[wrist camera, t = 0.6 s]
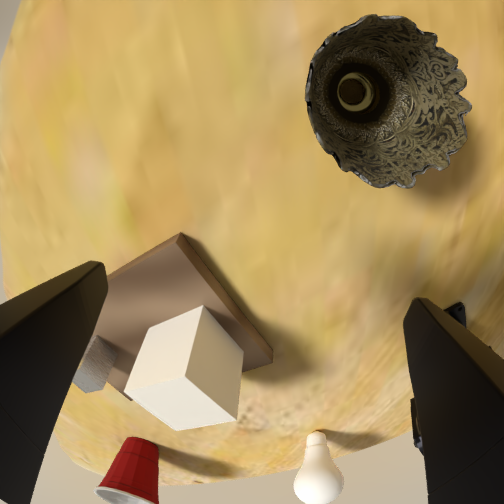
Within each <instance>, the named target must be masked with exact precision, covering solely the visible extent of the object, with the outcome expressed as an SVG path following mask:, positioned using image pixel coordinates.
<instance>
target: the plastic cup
mask: <svg viewBox="0 0 504 504" xmlns="http://www.w3.org/2000/svg"><path fill="white" fill-rule="evenodd" d="M158 460H159V452H158V447H157V446H156V445H155V444H153V443H151V442H149V441H147V440H144V439H141V438H136V437H128V438H127V439H126V440H125V442H124V443H123V445H122V447H121V449H120V451H119V453H118V454H117V455H116V457H115V459H114V461H113V463H112V465H111V467H110V468H109V470H108V472H107V474H106V476H105V477H104V479H103V480H102V482H101V483H100V485H99V486H98V487H96V488H95V489H94V492H95V493H96V495H97V496H99V497H100V498H102V499H103V500H105V501H107V502H109V503H111V504H159V501H158V474H159V467H158Z"/></svg>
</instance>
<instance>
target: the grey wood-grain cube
mask: <svg viewBox="0 0 504 504" xmlns="http://www.w3.org/2000/svg"><path fill="white" fill-rule="evenodd" d="M117 356H118V354H117V353H116V352H115V351H114V350H113V349H111V348H110V347H109V346H108V345H107V344H106V343H105V342H104V341H103V340H102V339H101V338H100V337H99V336H98V335H95V336H93V337H91V340H90V342H89V344H88V346H87V349H86V351H85V353H84V355H83V357H82V360H81V362H80V364H79V366H78V369H77V371H76V373H75V376H74V378H73V380H72V382H73V383H74V384H75V385H76V386H78V387H79V388H80V389H81V390H82V391H84V392H85V393H89V392H94V391H98V390H102V389H103V388H104V385H105V383H106V381H107V378H108V376H109V374H110V371H111V369H112V367H113V365H114V362H115V360H116V358H117Z"/></svg>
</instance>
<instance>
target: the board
mask: <svg viewBox="0 0 504 504" xmlns="http://www.w3.org/2000/svg"><path fill="white" fill-rule="evenodd" d="M107 281H108V294H107V296H106V299H105V302H104V305H103V307H102V310H101V313H100V316H99V318H98V321H97V324H96V327H95V330H94V333H93V335H92V337H93V336H95V335H98V336H99V337H100V338H101V339H102V340H103V341H104V342H105V343H106V344H107V345H108V346H109V347H110V348H111V349H113V350H114V351H115V352H116V353H117V354H118V356H117V358H116V360H115V362H114V365H113V367H112V369H111V371H110V374H109V376H108V378H107V382H108V383H109V384H111V385H112V386H113V387H114V388H115V389H117V390H118V391H119V392H120V393H122V394H123V395H124V396H125V397H127V398H128V399H129V400H130V401H132V400H133V399H132V398H131V397H129V396H128V395H127V394H126V393H124V390H125V387H126V384H127V382H128V379H129V377H130V374H131V371H132V369H133V366H134V364H135V361H136V359H137V356H138V354H139V351H140V349H141V346H142V344H143V341H144V339H145V336H146V334H147V332H148V329H149V328H150V327H153V326H155V325H157V324H160V323H162V322H165V321H167V320H169V319H172V318H174V317H176V316H179V315H181V314H184V313H186V312H188V311H191V310H193V309H195V308H198V307H200V306H202V305H204V307H205V308H206V309H207V310H208V311H209V312H210V314H211V315H212V316H213V317H214V318H215V319H216V321H217V322H218V323H219V324H220V325H221V326H222V328H223V329H224V330H225V331H226V332H227V333H228V334H229V336H230V337H231V338H232V339H233V340H234V341H235V342H236V343H237V345H238V346H239V347H240V348H241V349H242V350H243V351H244V355H243V364H242V372H245V371H248V370H252V369H255V368H258V367H261V366H264V365H267V364H270V363H273V350H272V349H271V348H270V346H269V345H268V344H267V343H266V341H265V340H264V339H263V338H262V337H261V335H260V334H259V333H258V332H257V330H256V329H255V328H254V327H253V325H252V324H251V323H250V322H249V320H248V319H247V318H246V317H245V315H244V314H243V313H242V312H241V310H240V309H239V308H238V307H237V305H236V304H235V303H234V301H233V300H232V299H231V298H230V296H229V295H228V294H227V292H226V291H225V290H224V289H223V287H222V286H221V285H220V283H219V282H218V281H217V280H216V278H215V277H214V276H213V274H212V273H211V272H210V270H209V269H208V268H207V267H206V265H205V264H204V263H203V261H202V260H201V259H200V257H199V256H198V255H197V253H196V252H195V251H194V249H193V248H192V247H191V245H190V244H189V243H188V241H187V240H186V239H185V237H184V236H183V235H182V233H181V232H180V233H179V234H177V235H175V236H173V237H172V238H170V239H168V240H166V241H165V242H163V243H161V244H160V245H158V246H156V247H154V248H153V249H151V250H149V251H148V252H146V253H144V254H143V255H141V256H139V257H138V258H136V259H134V260H133V261H131V262H129V263H128V264H126V265H124V266H123V267H121V268H119V269H118V270H116V271H114V272H113V273H111V274H109V275H108V276H107Z"/></svg>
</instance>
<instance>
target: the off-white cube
mask: <svg viewBox="0 0 504 504" xmlns="http://www.w3.org/2000/svg"><path fill="white" fill-rule="evenodd" d="M243 355H244V351H243V350H242V349H241V348H240V347H239V346H238V345H237V343H236V342H235V341H234V340H233V339H232V338H231V337H230V336H229V334H228V333H227V332H226V331H225V330H224V329H223V328H222V326H221V325H220V324H219V323H218V322H217V321H216V319H215V318H214V317H213V316H212V315H211V314H210V312H209V311H208V310H207V309H206V308H205V307H204V305H202V306H200V307H198V308H195V309H193V310H191V311H188V312H186V313H184V314H181V315H179V316H176V317H174V318H172V319H169V320H167V321H165V322H162V323H160V324H157V325H155V326H153V327H150V328H149V329H148V332H147V334H146V336H145V339H144V341H143V344H142V346H141V349H140V351H139V354H138V356H137V359H136V361H135V364H134V366H133V369H132V371H131V374H130V377H129V379H128V382H127V384H126V387H125V390H124V393H126V394H127V395H128V396H129V397H131V398H132V399H133V400H134V401H136V402H137V403H138V404H139V405H141V406H142V407H143V408H145V409H146V410H147V411H149V412H150V413H151V414H153V415H154V416H155V417H157V418H158V419H160V420H161V421H162V422H164V423H165V424H167V425H168V426H169V427H171V428H172V429H174V430H175V431H178V430H185V429H192V428H198V427H204V426H209V425H215V424H220V423H225V422H230V421H235V420H237V413H238V403H239V394H240V384H241V374H242V364H243Z"/></svg>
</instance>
